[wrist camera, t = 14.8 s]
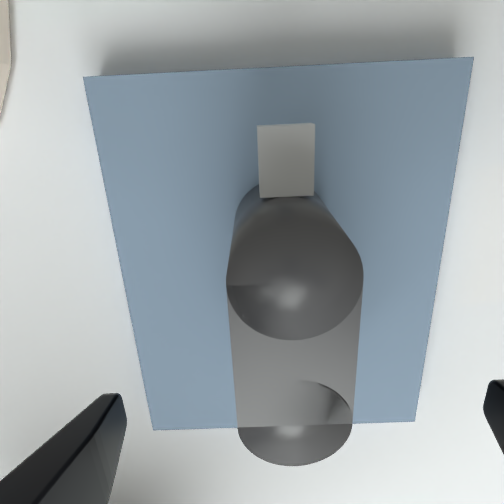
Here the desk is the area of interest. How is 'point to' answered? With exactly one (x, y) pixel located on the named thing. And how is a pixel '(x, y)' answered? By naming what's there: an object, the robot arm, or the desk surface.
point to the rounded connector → (292, 308)
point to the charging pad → (247, 177)
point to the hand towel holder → (4, 49)
